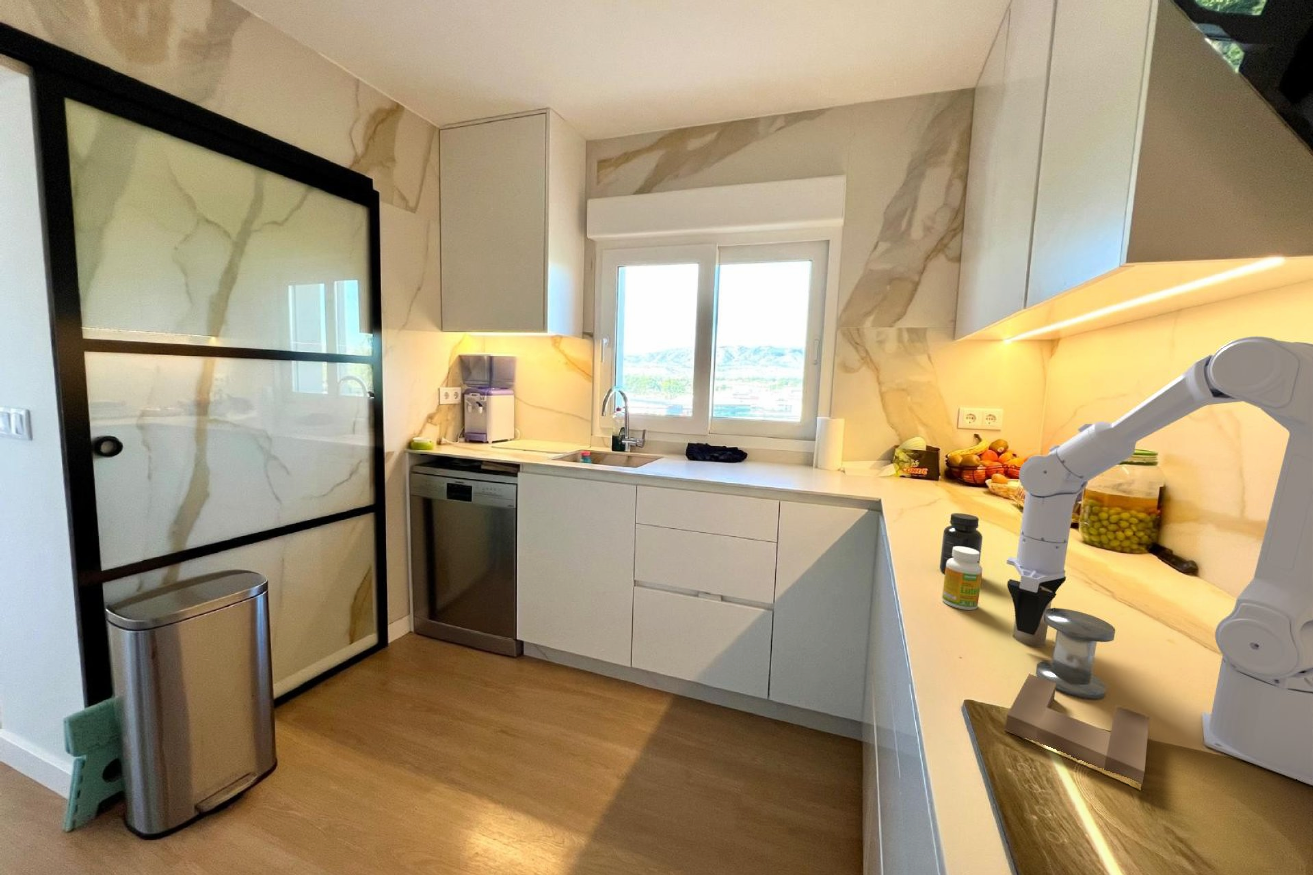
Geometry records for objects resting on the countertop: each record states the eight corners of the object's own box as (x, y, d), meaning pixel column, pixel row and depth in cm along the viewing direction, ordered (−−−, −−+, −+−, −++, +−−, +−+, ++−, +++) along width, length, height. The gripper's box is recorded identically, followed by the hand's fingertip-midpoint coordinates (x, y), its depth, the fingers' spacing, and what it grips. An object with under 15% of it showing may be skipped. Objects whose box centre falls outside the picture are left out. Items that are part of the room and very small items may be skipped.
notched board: (1146, 733, 58) (1149, 717, 58) (1141, 790, 49) (1144, 771, 49) (1027, 688, 65) (1029, 673, 65) (1004, 731, 57) (1007, 714, 57)
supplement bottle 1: (945, 565, 110) (952, 509, 109) (982, 575, 105) (990, 517, 104) (933, 572, 105) (940, 514, 104) (971, 583, 101) (979, 522, 99)
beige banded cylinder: (1047, 640, 79) (1054, 590, 78) (1042, 649, 76) (1050, 597, 75) (1015, 630, 81) (1022, 581, 80) (1009, 638, 79) (1017, 588, 78)
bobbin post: (1107, 684, 67) (1117, 622, 66) (1101, 707, 62) (1112, 640, 61) (1040, 661, 72) (1049, 603, 71) (1031, 680, 67) (1040, 618, 66)
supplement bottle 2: (959, 611, 87) (966, 556, 86) (934, 598, 92) (940, 545, 91) (985, 609, 89) (992, 554, 87) (959, 596, 94) (965, 544, 93)
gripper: (1021, 522, 85) (1010, 602, 86) (1000, 539, 74) (987, 629, 76) (1076, 533, 80) (1063, 617, 81) (1061, 552, 69) (1047, 648, 71)
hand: (1030, 624), depth 78 cm, fingers open, 7 cm apart
